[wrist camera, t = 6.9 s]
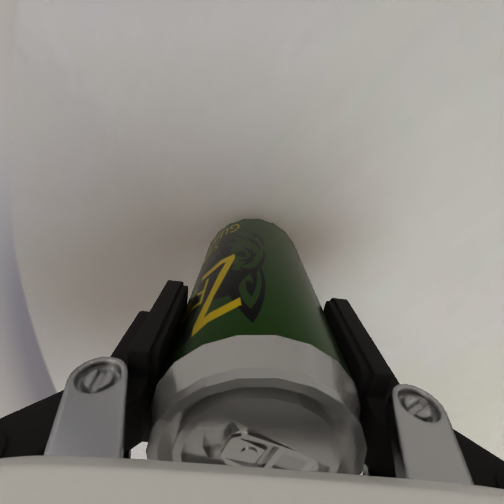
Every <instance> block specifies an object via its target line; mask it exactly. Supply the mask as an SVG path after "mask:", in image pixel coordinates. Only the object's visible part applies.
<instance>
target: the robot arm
mask: <svg viewBox="0 0 504 504" xmlns="http://www.w3.org/2000/svg"><path fill="white" fill-rule="evenodd" d="M187 299H188V286H184V285H183V282H180V281H171V280H168V281H167V283H166V285H165V286H164V288H163V290H162V292H161V293H160V295H159V297H158V298H157V300H156V302H155V303H154V305H153V307H152V309H151V310H150V312H148V311H140V312H139V313H138V315H137V316H136V318H135V319H134V321H133V322H132V324H131V325H130V327H129V329H128V330H127V332H126V333H125V335H124V336H123V338H122V339H121V341H120V342H119V344H118V346H117V347H116V349H115V350H114V352H113V353H112V355H111V356H110V357H100V358H95V359H92V360H89V361H87V362H85V363H83V364H81V365H80V366H78V367H77V368H76V369H75V370H74V371H73V372H72V373H71V374H70V376H69V378H68V380H67V383H66V386H65V389H64V390H63V391H61V392H59V393H56V394H54V395H52V396H50V397H48V398H45V399H43V400H41V401H38V402H36V403H34V404H32V405H30V406H27V407H25V408H23V409H21V410H19V411H16V412H14V413H12V414H9V415H7V416H5V417H3V418H1V419H0V504H504V461H503V460H501V459H500V458H498V457H496V456H495V455H493V454H492V453H490V452H489V451H487V450H485V449H484V448H482V447H481V446H479V445H477V444H476V443H474V442H473V441H471V440H470V439H468V438H466V437H465V436H463V435H462V434H460V433H459V432H457V431H455V430H454V429H453V428H452V426H451V423H450V420H449V418H448V415H447V413H446V411H445V409H444V408H443V406H442V405H441V404H440V403H439V402H438V400H437V399H435V398H434V397H433V396H432V395H430V394H429V393H427V392H426V391H424V390H422V389H420V388H418V387H415V386H412V385H408V384H399V382H398V381H397V379H396V377H395V376H394V374H393V373H392V371H391V369H390V368H389V366H388V365H387V363H386V361H385V360H384V358H383V357H382V355H381V353H380V352H379V350H378V348H377V347H376V345H375V344H374V342H373V340H372V339H371V337H370V336H369V334H368V333H367V331H366V329H365V328H364V326H363V325H362V323H361V321H360V320H359V318H358V317H357V315H356V313H355V312H354V310H353V309H352V307H351V305H350V304H349V302H348V301H347V300H346V299H337V298H332V299H331V300H330V301H327V302H326V304H325V307H324V311H323V312H324V314H325V317H326V319H327V321H328V323H329V326H330V328H331V330H332V333H333V335H334V337H335V339H336V342H337V344H338V346H339V348H340V351H341V353H342V355H343V358H344V360H345V362H346V364H347V367H348V369H349V371H350V373H351V376H352V378H353V380H354V383H355V386H356V390H357V394H358V398H359V402H360V406H361V410H360V419H359V421H360V423H361V426H362V430H363V434H364V438H365V442H366V446H367V452H366V457H365V462H364V466H363V475H353V474H340V473H327V472H314V471H300V470H287V469H273V468H259V467H246V466H232V465H217V464H202V463H188V462H173V461H158V460H143V459H131V449H132V448H133V447H135V446H136V445H138V444H139V443H141V442H149V438H150V434H151V431H152V427H153V422H152V416H151V410H150V408H151V405H152V401H153V397H154V393H155V390H156V386H157V383H158V380H159V378H160V375H161V372H162V370H163V367H164V365H165V362H166V359H167V357H168V354H169V351H170V349H171V346H172V344H173V341H174V338H175V336H176V333H177V330H178V328H179V325H180V323H181V320H182V317H183V315H184V312H185V309H186V307H187Z"/></svg>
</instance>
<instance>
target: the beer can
mask: <svg viewBox="0 0 504 504" xmlns="http://www.w3.org/2000/svg"><path fill="white" fill-rule="evenodd" d="M150 410H151V416H152V422H153V427H152V431H151V434H150V438H149V442H148V445H147V449H146V454H147V459H148V460H158V461H173V462H188V463H202V464H217V465H232V466H246V467H259V468H273V469H287V470H300V471H314V472H327V473H340V474H353V475H360V474H361V473H362V471H363V466H364V462H365V457H366V452H367V446H366V442H365V438H364V434H363V430H362V426H361V423H360V421H359V419H360V410H361V406H360V402H359V398H358V394H357V390H356V386H355V383H354V380H353V378H352V376H351V373H350V371H349V369H348V367H347V364H346V362H345V360H344V358H343V355H342V353H341V351H340V348H339V346H338V344H337V342H336V339H335V337H334V335H333V333H332V330H331V328H330V326H329V323H328V321H327V319H326V317H325V314H324V312H323V310H322V308H321V305H320V303H319V301H318V298H317V296H316V294H315V292H314V289H313V287H312V285H311V283H310V280H309V278H308V276H307V273H306V271H305V269H304V267H303V264H302V262H301V260H300V258H299V255H298V253H297V251H296V248H295V246H294V244H293V242H292V241H291V239H290V238H289V237H288V235H287V234H286V232H285V231H283V230H282V229H281V228H279V227H278V226H276V225H275V224H274V223H270V222H267V221H264V220H261V219H243V220H240V221H237V222H234V223H231V224H229V225H228V226H226V227H225V228H224V229H222V230H221V231H219V232H218V234H217V235H216V237H215V238H214V239H213V241H212V242H211V244H210V247H209V249H208V252H207V254H206V257H205V260H204V262H203V265H202V267H201V270H200V273H199V275H198V278H197V281H196V283H195V286H194V288H193V291H192V294H191V296H190V299H189V302H188V304H187V307H186V309H185V312H184V315H183V317H182V320H181V323H180V325H179V328H178V330H177V333H176V336H175V338H174V341H173V344H172V346H171V349H170V351H169V354H168V357H167V359H166V362H165V365H164V367H163V370H162V372H161V375H160V378H159V380H158V383H157V386H156V390H155V393H154V397H153V401H152V405H151V408H150Z"/></svg>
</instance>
